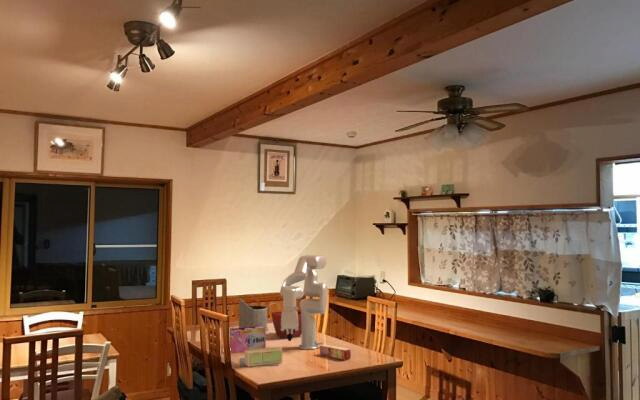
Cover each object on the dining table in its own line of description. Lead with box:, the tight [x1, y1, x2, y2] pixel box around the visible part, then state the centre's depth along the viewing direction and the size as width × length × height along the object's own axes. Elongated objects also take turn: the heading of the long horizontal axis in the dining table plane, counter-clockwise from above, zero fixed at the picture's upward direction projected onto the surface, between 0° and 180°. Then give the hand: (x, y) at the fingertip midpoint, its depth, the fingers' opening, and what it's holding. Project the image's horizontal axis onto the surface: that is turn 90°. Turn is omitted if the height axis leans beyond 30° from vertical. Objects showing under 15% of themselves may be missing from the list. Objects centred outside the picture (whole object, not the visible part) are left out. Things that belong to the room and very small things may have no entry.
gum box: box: [228, 325, 267, 354], centre depth 333 cm, size 24×8×14 cm, turn 125°
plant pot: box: [270, 310, 301, 340], centre depth 372 cm, size 19×19×17 cm
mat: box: [239, 357, 279, 368], centre depth 301 cm, size 22×18×1 cm
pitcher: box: [238, 297, 280, 333], centre depth 394 cm, size 23×32×25 cm
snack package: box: [319, 343, 352, 361], centre depth 313 cm, size 21×7×7 cm, turn 46°
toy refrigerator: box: [244, 346, 283, 368], centre depth 297 cm, size 8×7×21 cm
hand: (289, 340), depth 304 cm, fingers closed
